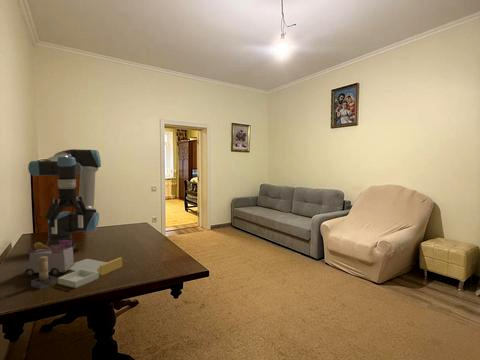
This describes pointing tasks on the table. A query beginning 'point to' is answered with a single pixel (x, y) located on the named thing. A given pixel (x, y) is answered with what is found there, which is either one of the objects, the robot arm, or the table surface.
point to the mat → (87, 265)
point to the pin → (43, 268)
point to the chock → (110, 266)
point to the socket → (46, 283)
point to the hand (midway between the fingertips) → (68, 230)
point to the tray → (78, 278)
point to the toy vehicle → (50, 258)
